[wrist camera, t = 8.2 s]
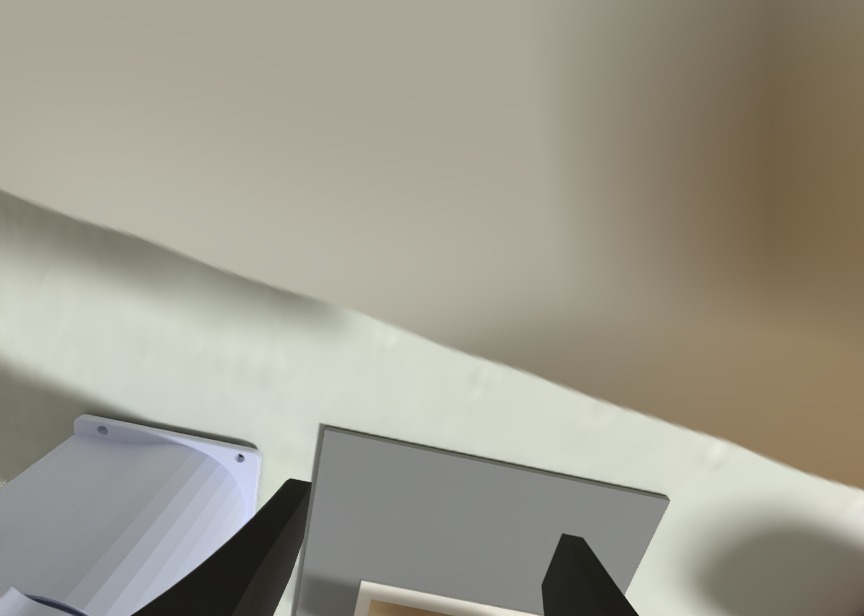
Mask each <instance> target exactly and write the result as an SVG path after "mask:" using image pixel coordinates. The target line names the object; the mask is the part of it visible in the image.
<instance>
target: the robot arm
mask: <svg viewBox="0 0 864 616" xmlns="http://www.w3.org/2000/svg"><path fill="white" fill-rule="evenodd" d="M104 427H105V428H106V429H107V430H106V429H105V428H104ZM238 454H241V455H243V456H244V458H242V457H240V456H239V455H238ZM261 458H262V457H261V454H260V452H259V451H258V450H257V449H254V448H251V447H246V446H241V445H236V444H231V443H226V442H221V441H216V440H211V439H206V438H201V437H197V436H192V435H187V434H182V433H177V432H172V431H167V430H162V429H157V428H152V427H147V426H142V425H138V424H133V423H128V422H123V421H118V420H113V419H108V418H103V417H98V416H93V415H88V414H83V415H81V416H79V417H78V418H76V419H75V420H74V435H72V436H71V437H70V438H68V439H67V440H65V441H64V442H63V443H61V444H60V445H59V446H57V447H56V448H55V449H53V450H52V451H50V452H49V453H48V454H46V455H45V456H44V457H42V458H41V459H40V460H38V461H37V462H36V463H34V464H33V465H31V466H30V467H29V468H27V469H26V470H25V471H23V472H22V473H21V474H19V475H18V476H16V477H15V478H14V479H12V480H11V481H10V482H8V483H7V484H6V485H4V486H3V487H1V488H0V616H273V615H274V612H275V610H276V608H277V606H278V603H279V601H280V599H281V597H282V595H283V592H284V590H285V588H286V586H287V583H288V581H289V579H290V577H291V574H292V571H293V568H294V565H295V562H296V559H297V556H298V553H299V550H300V547H301V544H302V541H303V538H304V532H305V525H306V519H307V512H308V506H309V499H310V492H311V486H312V483H311V482H306V481H301V480H296V479H291V478H290V479H288V480H287V481H286V482H285V483H284V484H283V485H282V486H281V487H280V489H279V490H278V491H277V492H276V493H275V494H274V495H273V496H272V498H271V499H270V500H269V501H268V502H267V503H266V504H265V505H264V506H263V507H262V508H261V509H260V510H259V511H258V512H257V513H256V507H257V497H258V487H259V478H260V468H261ZM541 588H542V599H543V610H544V616H639V615H638V614H637V612H636V611H635V610H634V608H633V607H632V606H631V604H630V603H629V602H628V600H627V599H626V598H625V596H624V595H623V593H622V592H621V591H620V589H619V588H618V586H617V585H616V584H615V582H614V581H613V579H612V578H611V576H610V575H609V574H608V572H607V571H606V569H605V568H604V566H603V565H602V564H601V562H600V561H599V559H598V558H597V556H596V555H595V554H594V552H593V551H592V549H591V548H590V546H589V545H588V544H587V542H586V541H585V539H584V538H583V537H579V536H574V535H569V534H564V533H562V535H561V537H560V540H559V542H558V545H557V547H556V550H555V552H554V555H553V557H552V560H551V562H550V565H549V567H548V570H547V572H546V575H545V577H544V580H543V582H542V585H541Z"/></svg>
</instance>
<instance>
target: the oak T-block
mask: <svg viewBox="0 0 864 616" xmlns="http://www.w3.org/2000/svg"><path fill="white" fill-rule="evenodd" d="M368 616H453V615H448V614H443V613H438V612H433V611H428V610H423V609H418V608H413V607H408V606H403V605H397V604H392V603H387V602H382V601H377V600H372V599H371V603H370V607H369V612H368Z"/></svg>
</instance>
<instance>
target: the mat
mask: <svg viewBox="0 0 864 616" xmlns="http://www.w3.org/2000/svg"><path fill="white" fill-rule="evenodd" d="M669 502H670V500H669V498H668V497H667V496H662V495H657V494H652V493H647V492H642V491H638V490H633V489H628V488H623V487H618V486H613V485H608V484H604V483H599V482H594V481H589V480H584V479H579V478H574V477H570V476H565V475H560V474H555V473H550V472H545V471H540V470H536V469H531V468H526V467H521V466H516V465H511V464H506V463H502V462H497V461H492V460H487V459H482V458H477V457H472V456H468V455H463V454H458V453H453V452H448V451H443V450H438V449H434V448H429V447H424V446H419V445H414V444H409V443H404V442H400V441H395V440H390V439H385V438H380V437H375V436H370V435H366V434H361V433H356V432H351V431H346V430H341V429H336V428H332V427H327V426H326V428H325V430H324V437H323V443H322V449H321V456H320V462H319V469H318V475H317V482H316V488H315V494H314V501H313V507H312V514H311V520H310V527H309V533H308V539H307V546H306V552H305V559H304V565H303V572H302V578H301V584H300V591H299V597H298V604H297V610H296V616H368V612H369V607H370V603H371V599H372V600H377V601H382V602H387V603H392V604H397V605H403V606H408V607H413V608H418V609H423V610H428V611H433V612H438V613H443V614H448V615H453V616H544V610H543V599H542V588H541V585H542V582H543V580H544V577H545V575H546V572H547V570H548V567H549V565H550V562H551V560H552V557H553V555H554V552H555V550H556V547H557V545H558V542H559V540H560V537H561V535H562V533H564V534H569V535H574V536H579V537H583V538H584V539H585V541H586V542H587V544H588V545H589V546H590V548H591V549H592V551H593V552H594V554H595V555H596V556H597V558H598V559H599V561H600V562H601V564H602V565H603V566H604V568H605V569H606V571H607V572H608V574H609V575H610V576H611V578H612V579H613V581H614V582H615V584H616V585H617V586H618V588H619V589H620V591H621V592H622V593H623V595H625V593H626V591H627V589H628V587H629V585H630V583H631V580H632V578H633V576H634V574H635V572H636V570H637V568H638V566H639V564H640V562H641V560H642V558H643V556H644V554H645V552H646V550H647V548H648V546H649V544H650V541H651V539H652V537H653V535H654V533H655V531H656V529H657V527H658V525H659V523H660V521H661V519H662V517H663V515H664V513H665V511H666V509H667V507H668V505H669Z"/></svg>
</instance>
